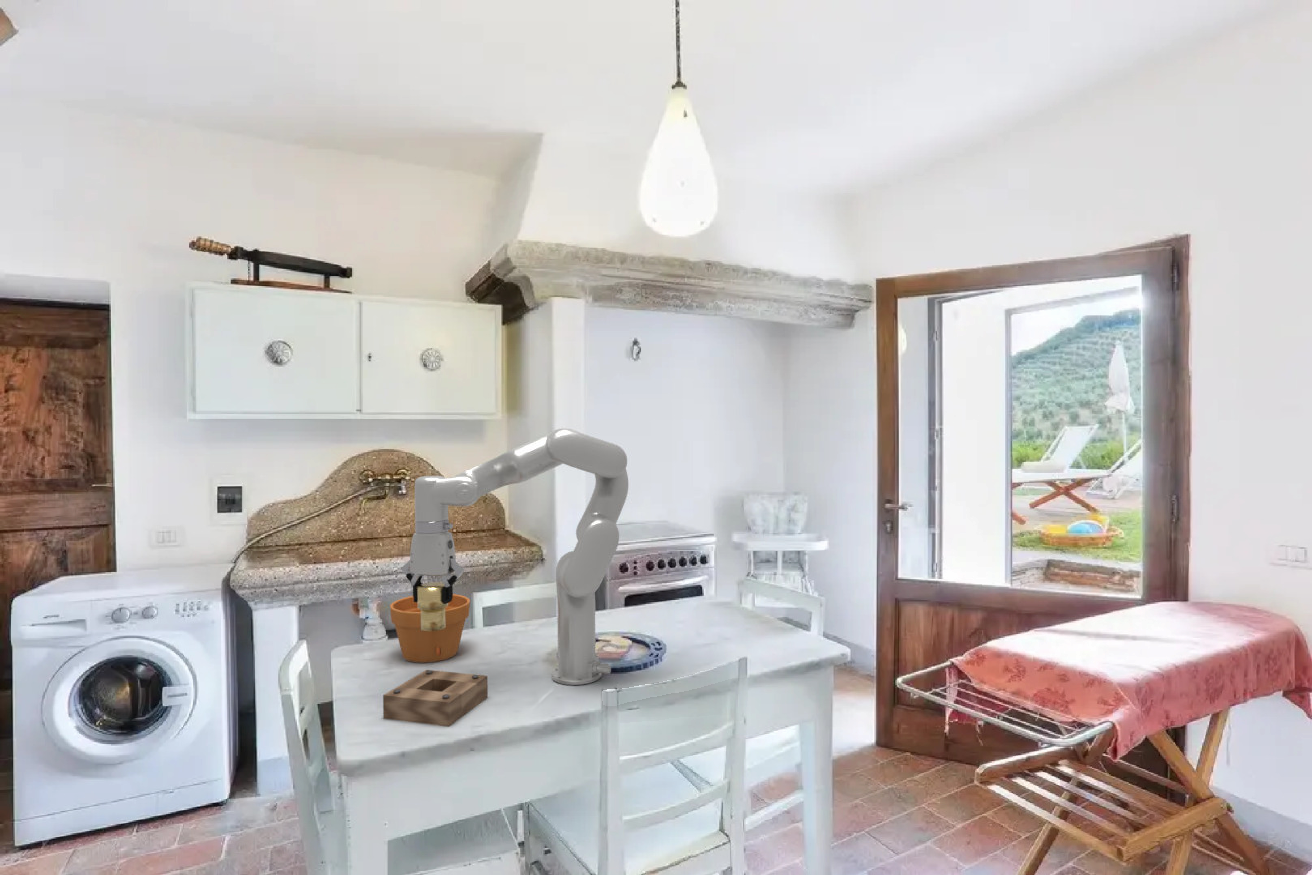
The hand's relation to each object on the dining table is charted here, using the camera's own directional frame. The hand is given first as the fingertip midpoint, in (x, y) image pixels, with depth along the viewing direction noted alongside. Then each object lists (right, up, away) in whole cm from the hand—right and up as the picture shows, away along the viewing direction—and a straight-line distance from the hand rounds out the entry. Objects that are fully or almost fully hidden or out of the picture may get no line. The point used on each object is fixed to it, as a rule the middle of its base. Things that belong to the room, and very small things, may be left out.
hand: (432, 601), depth 166 cm
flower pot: (-9, -22, +27) cm, 36 cm away
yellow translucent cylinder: (0, -6, 0) cm, 6 cm away
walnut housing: (+5, -22, -12) cm, 25 cm away
